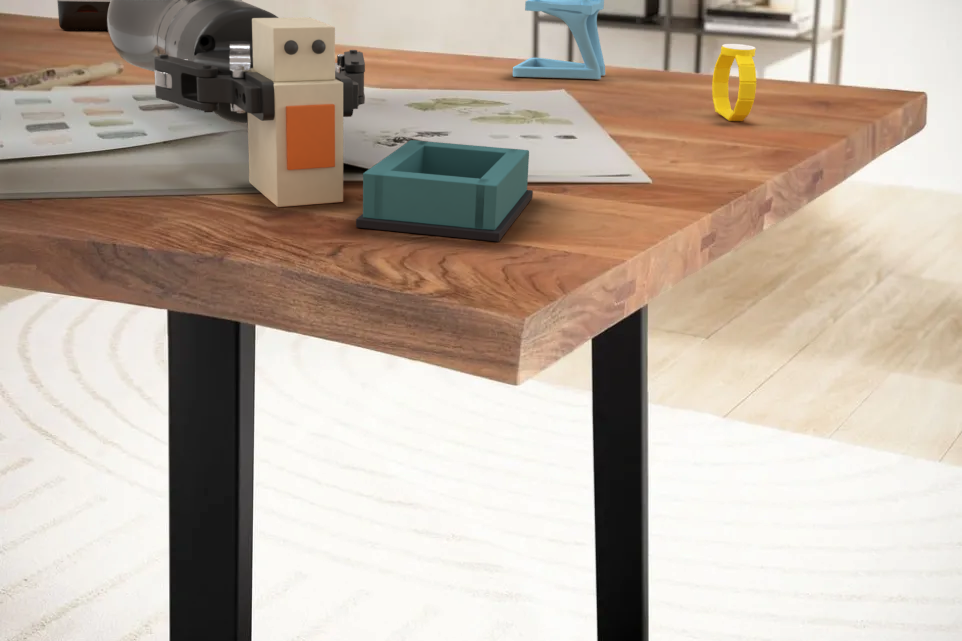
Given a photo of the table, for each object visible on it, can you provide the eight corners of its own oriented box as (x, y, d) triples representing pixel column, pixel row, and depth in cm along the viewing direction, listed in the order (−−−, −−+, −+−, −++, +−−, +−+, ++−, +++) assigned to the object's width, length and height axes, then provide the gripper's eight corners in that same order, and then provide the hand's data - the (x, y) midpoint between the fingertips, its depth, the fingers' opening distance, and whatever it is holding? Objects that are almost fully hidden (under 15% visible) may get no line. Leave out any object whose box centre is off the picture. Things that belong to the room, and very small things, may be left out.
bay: (405, 186, 76) (406, 138, 75) (532, 198, 75) (535, 149, 74) (355, 227, 67) (355, 173, 66) (498, 242, 65) (501, 187, 64)
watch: (701, 111, 105) (708, 40, 103) (731, 111, 106) (739, 41, 104) (728, 125, 99) (736, 50, 97) (760, 125, 100) (768, 51, 98)
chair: (595, 83, 117) (604, -48, 112) (511, 76, 119) (517, -53, 115) (609, 72, 124) (619, -52, 120) (529, 66, 126) (536, -56, 122)
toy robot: (249, 183, 75) (244, 16, 72) (311, 178, 77) (310, 15, 74) (278, 208, 70) (275, 30, 67) (345, 203, 72) (345, 28, 68)
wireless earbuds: (125, 31, 139) (124, 1, 137) (59, 30, 137) (56, 0, 136) (126, 26, 143) (124, -3, 142) (61, 25, 141) (59, -4, 140)
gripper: (120, 0, 79) (179, 35, 65) (330, -1, 85) (427, 31, 71) (127, 116, 82) (185, 174, 67) (330, 107, 88) (424, 158, 73)
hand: (309, 100), depth 69 cm, fingers closed on toy robot, 4 cm apart
